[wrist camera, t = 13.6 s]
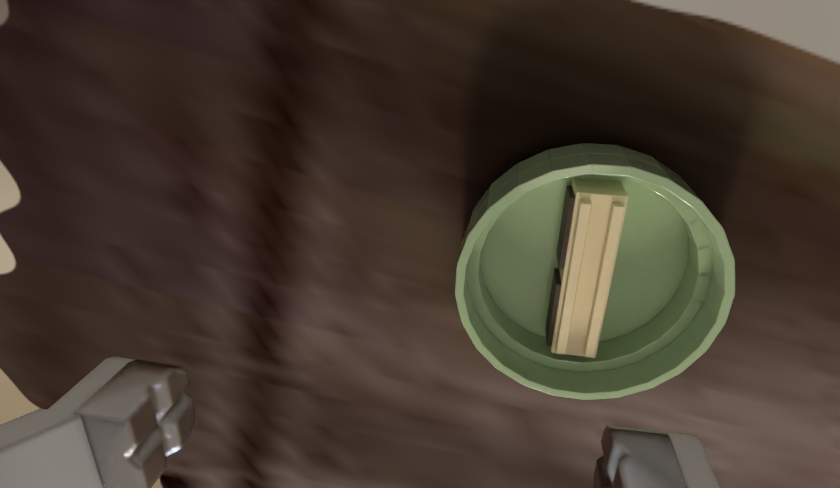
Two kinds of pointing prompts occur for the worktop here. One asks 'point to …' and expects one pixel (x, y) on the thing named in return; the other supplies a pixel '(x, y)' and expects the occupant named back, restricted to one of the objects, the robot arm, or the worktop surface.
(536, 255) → the bowl
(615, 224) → the grooved wooden strip
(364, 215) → the worktop surface
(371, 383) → the worktop surface
